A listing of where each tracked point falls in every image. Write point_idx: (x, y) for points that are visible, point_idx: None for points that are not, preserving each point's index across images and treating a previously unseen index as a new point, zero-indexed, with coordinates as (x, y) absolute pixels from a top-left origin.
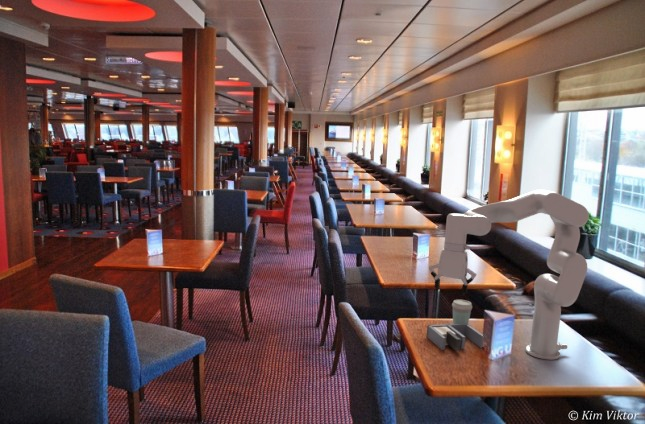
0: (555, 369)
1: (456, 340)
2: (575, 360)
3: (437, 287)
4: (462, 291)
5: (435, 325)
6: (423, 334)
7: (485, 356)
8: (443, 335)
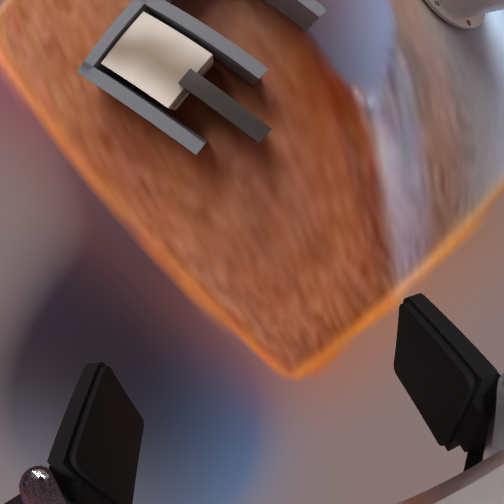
0: (493, 81)
1: (256, 141)
2: None
3: (138, 449)
4: (416, 396)
5: (103, 46)
6: None
7: (345, 93)
8: (173, 102)
